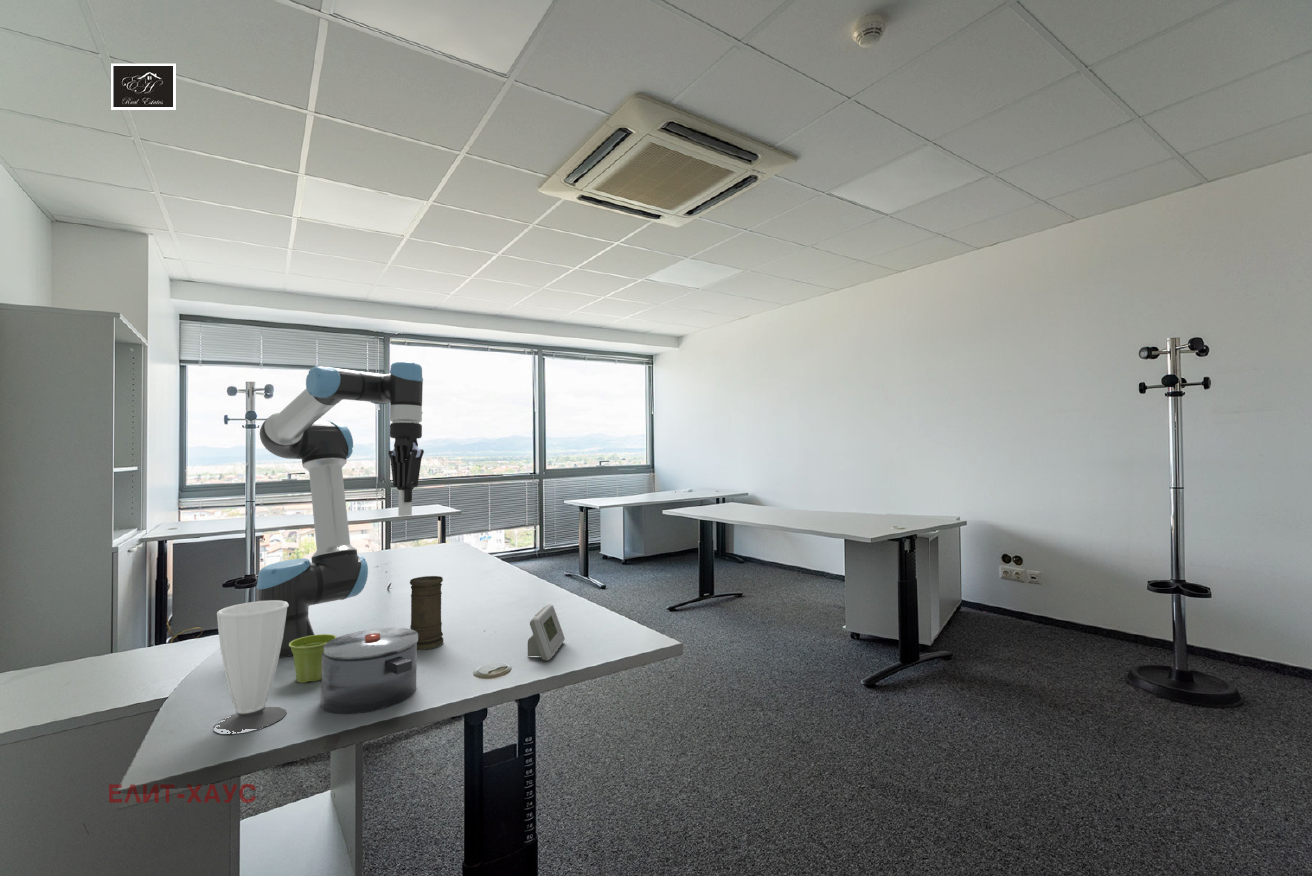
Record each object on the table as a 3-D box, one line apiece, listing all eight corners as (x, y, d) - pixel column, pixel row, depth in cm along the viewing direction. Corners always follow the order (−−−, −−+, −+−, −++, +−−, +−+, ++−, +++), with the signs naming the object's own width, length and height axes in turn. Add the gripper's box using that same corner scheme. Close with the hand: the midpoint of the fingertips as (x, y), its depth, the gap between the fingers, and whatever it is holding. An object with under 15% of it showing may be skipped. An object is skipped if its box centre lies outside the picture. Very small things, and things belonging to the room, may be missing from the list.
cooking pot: (296, 694, 118) (297, 647, 119) (380, 669, 133) (381, 627, 133) (357, 728, 102) (358, 673, 103) (444, 695, 117) (445, 647, 117)
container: (433, 650, 146) (434, 581, 147) (401, 650, 147) (402, 581, 148) (449, 640, 155) (450, 575, 156) (419, 639, 156) (419, 575, 157)
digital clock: (548, 663, 135) (548, 619, 136) (515, 661, 137) (515, 617, 138) (575, 643, 151) (575, 604, 151) (545, 641, 153) (545, 602, 154)
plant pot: (345, 673, 130) (345, 636, 131) (308, 688, 121) (309, 648, 122) (315, 669, 133) (316, 632, 134) (278, 683, 124) (278, 644, 125)
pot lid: (308, 649, 116) (308, 638, 116) (391, 628, 131) (391, 619, 131) (348, 666, 106) (348, 655, 106) (434, 642, 120) (434, 631, 120)
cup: (263, 733, 101) (266, 613, 102) (196, 736, 100) (200, 615, 101) (299, 706, 112) (301, 599, 113) (239, 709, 111) (242, 600, 112)
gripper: (433, 422, 140) (433, 515, 139) (406, 425, 148) (405, 513, 147) (405, 420, 134) (404, 517, 133) (378, 423, 142) (377, 515, 141)
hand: (405, 515), depth 140 cm, fingers closed
